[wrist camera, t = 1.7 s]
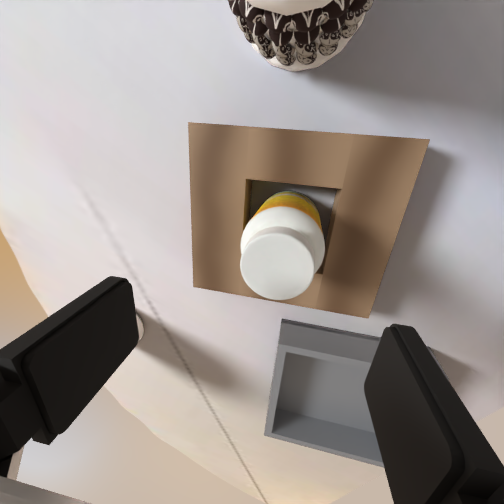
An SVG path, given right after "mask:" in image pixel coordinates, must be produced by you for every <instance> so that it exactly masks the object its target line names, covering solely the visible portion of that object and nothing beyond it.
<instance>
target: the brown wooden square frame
mask: <svg viewBox="0 0 504 504" xmlns="http://www.w3.org/2000/svg"><path fill="white" fill-rule="evenodd" d="M188 130H189V162H190V193H191V224H192V256H193V287H198V288H203V289H209V290H214V291H220V292H225V293H231V294H236V295H242V296H247V297H253V298H258V299H264V300H269V301H275V302H280V303H286V304H291V305H297V306H302V307H308V308H313V309H319V310H324V311H330V312H335V313H341V314H346V315H352V316H357V317H363V318H369V315H370V312H371V309H372V306H373V303H374V300H375V297H376V295H377V292H378V289H379V286H380V283H381V280H382V277H383V274H384V271H385V268H386V266H387V263H388V260H389V257H390V254H391V251H392V248H393V245H394V242H395V239H396V236H397V234H398V231H399V228H400V225H401V222H402V219H403V216H404V213H405V210H406V207H407V205H408V202H409V199H410V196H411V193H412V190H413V187H414V184H415V181H416V178H417V175H418V173H419V170H420V167H421V164H422V161H423V158H424V155H425V152H426V149H427V146H428V144H429V141H430V140H429V139H415V138H401V137H387V136H373V135H359V134H345V133H331V132H317V131H303V130H289V129H275V128H261V127H247V126H233V125H219V124H205V123H191V122H188ZM252 179H253V180H262V181H272V182H281V183H291V184H300V185H310V186H319V187H329V188H337V190H336V195H335V199H334V204H333V209H332V213H331V218H330V223H329V227H328V232H327V236H326V241H325V253H324V258H323V261H322V264H321V266H320V267H319V269H318V270H317V272H316V273H315V274H314V277H313V280H312V282H311V284H310V285H309V287H308V288H307V289H306V290H305V291H304V292H303V293H302V294H300V295H298V296H296V297H294V298H291V299H287V300H273V299H268V298H265V297H262V296H260V295H258V294H257V293H255V292H254V291H253V290H252V289H251V288H250V287H249V286H248V285H247V284H246V282H245V281H244V279H243V276H242V274H241V269H240V260H241V255H242V254H241V238H242V234H243V231H244V229H245V227H246V225H247V224H248V222H249V217H250V203H251V189H252Z"/></svg>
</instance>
